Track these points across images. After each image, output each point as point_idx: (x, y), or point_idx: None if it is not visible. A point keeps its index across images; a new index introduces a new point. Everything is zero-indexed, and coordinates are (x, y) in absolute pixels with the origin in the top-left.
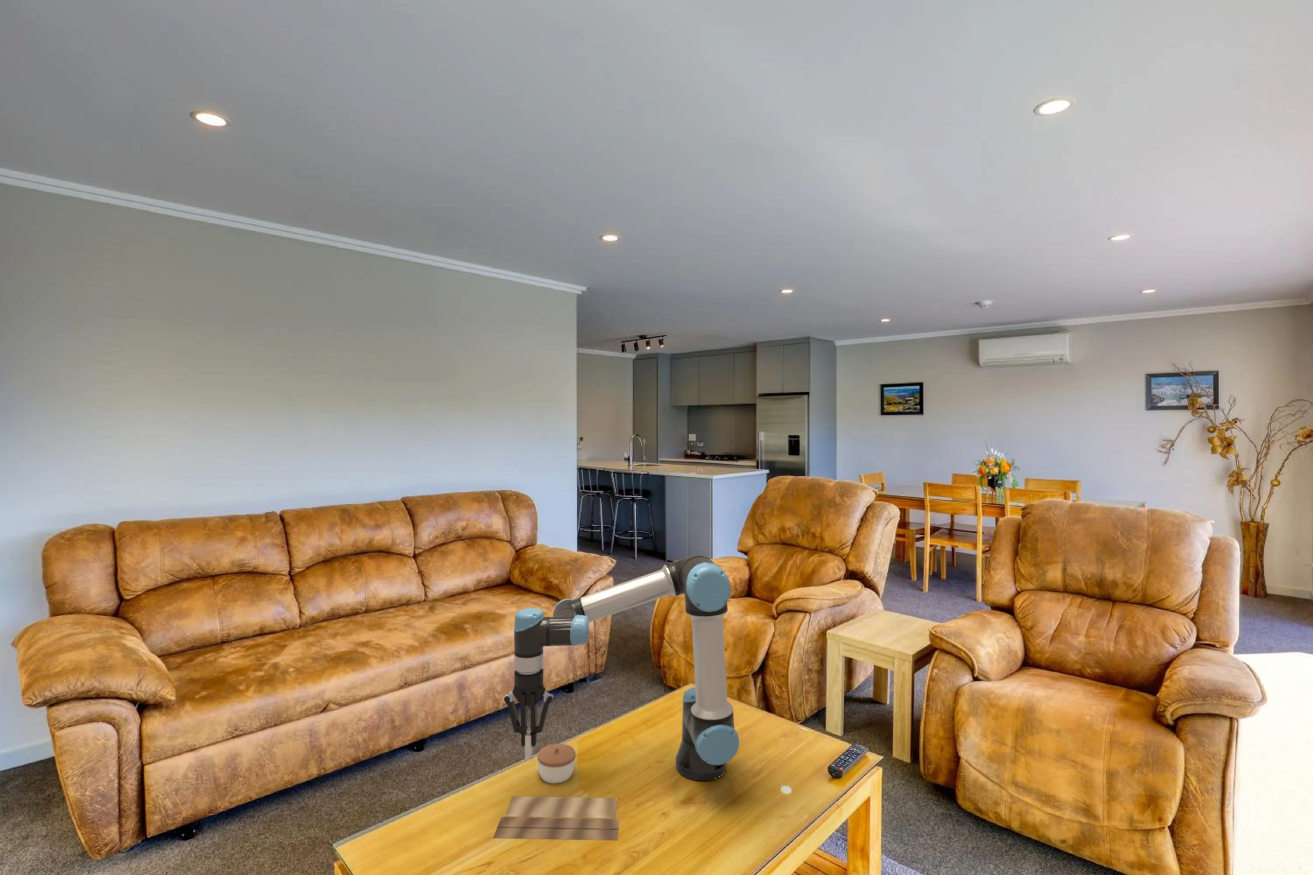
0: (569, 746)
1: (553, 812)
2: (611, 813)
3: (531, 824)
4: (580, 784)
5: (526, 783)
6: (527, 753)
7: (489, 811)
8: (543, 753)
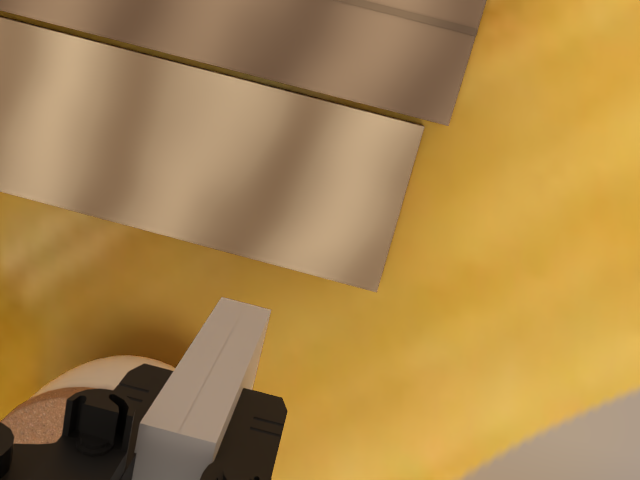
0: None
1: (159, 99)
2: None
3: (281, 15)
4: (34, 347)
5: (298, 420)
6: (237, 330)
7: (499, 235)
8: None
